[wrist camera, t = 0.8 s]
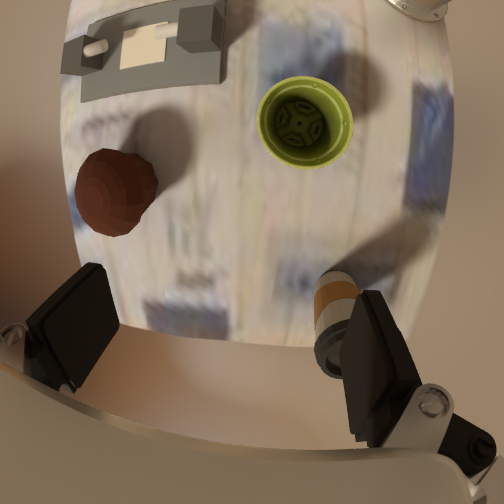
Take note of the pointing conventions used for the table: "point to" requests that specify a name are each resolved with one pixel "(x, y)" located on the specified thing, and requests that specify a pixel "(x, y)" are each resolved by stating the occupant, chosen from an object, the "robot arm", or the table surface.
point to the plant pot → (305, 122)
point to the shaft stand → (149, 49)
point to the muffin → (114, 191)
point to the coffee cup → (332, 318)
